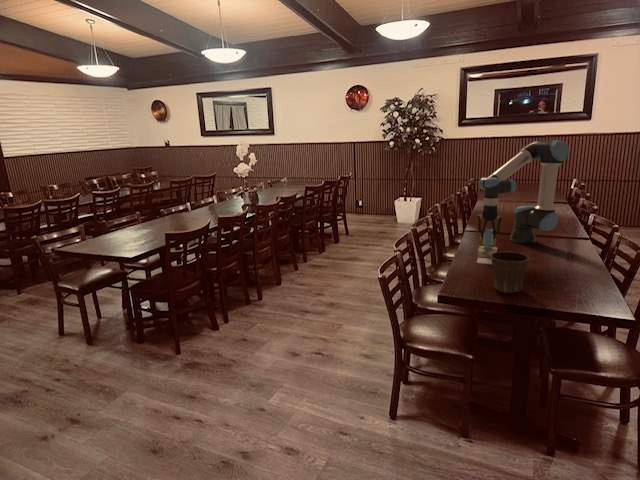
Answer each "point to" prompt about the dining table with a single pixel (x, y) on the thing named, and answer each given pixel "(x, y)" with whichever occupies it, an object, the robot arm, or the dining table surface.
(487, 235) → the plug
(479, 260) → the tile
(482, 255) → the socket block
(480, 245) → the mug
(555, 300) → the dining table surface
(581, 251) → the dining table surface
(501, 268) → the plant pot
